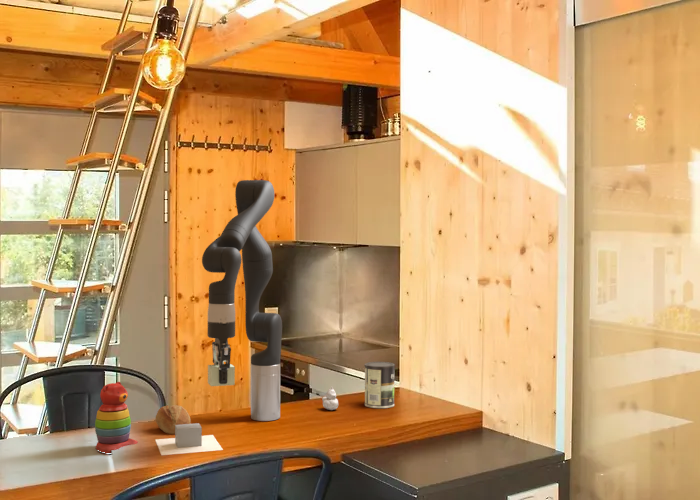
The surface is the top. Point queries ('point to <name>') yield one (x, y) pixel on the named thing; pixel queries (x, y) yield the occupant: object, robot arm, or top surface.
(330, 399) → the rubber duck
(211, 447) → the baseplate
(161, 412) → the bread roll
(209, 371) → the sage brick
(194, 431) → the slate brick
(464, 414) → the top surface
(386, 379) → the coffee can
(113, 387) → the stacking bear
